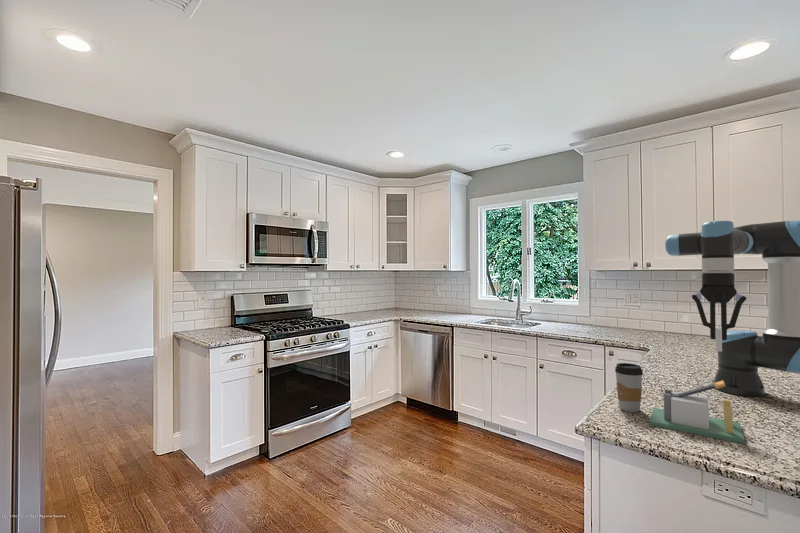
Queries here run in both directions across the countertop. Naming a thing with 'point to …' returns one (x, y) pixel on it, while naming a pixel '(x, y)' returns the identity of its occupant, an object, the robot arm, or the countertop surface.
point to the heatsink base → (710, 433)
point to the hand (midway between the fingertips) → (718, 350)
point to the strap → (700, 389)
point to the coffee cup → (629, 386)
